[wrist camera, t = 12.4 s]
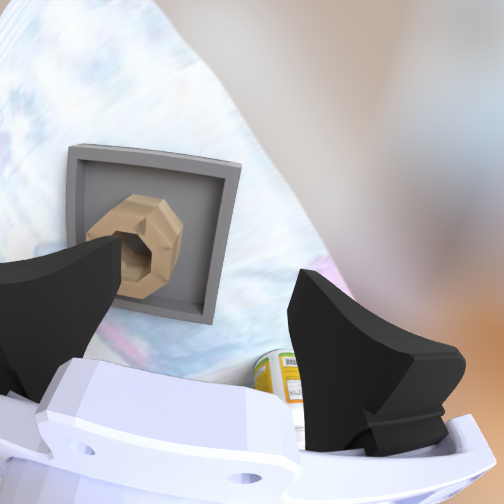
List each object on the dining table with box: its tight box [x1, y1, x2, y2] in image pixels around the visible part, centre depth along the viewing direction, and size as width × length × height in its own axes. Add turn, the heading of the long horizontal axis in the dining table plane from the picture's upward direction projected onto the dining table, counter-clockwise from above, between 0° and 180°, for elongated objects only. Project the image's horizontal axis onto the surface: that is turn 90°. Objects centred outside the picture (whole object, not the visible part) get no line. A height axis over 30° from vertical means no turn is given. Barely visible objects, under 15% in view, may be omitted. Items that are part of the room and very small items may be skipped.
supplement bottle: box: [254, 349, 305, 450], centre depth 22 cm, size 5×5×10 cm
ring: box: [86, 194, 183, 299], centre depth 18 cm, size 5×5×4 cm
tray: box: [66, 144, 242, 325], centre depth 19 cm, size 12×12×2 cm
